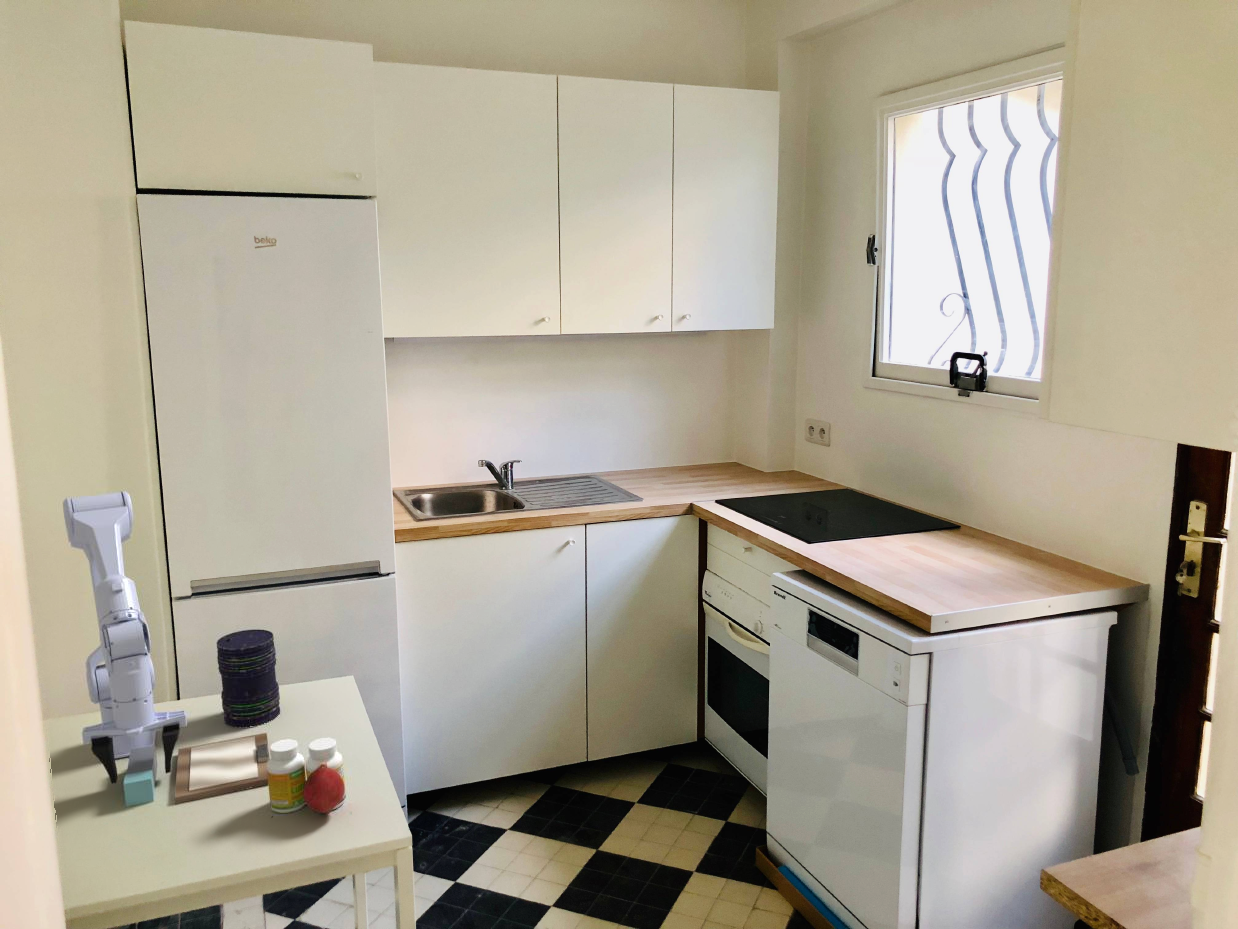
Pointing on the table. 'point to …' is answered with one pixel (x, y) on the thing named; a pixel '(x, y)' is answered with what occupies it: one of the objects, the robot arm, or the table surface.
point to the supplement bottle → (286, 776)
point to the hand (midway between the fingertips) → (141, 775)
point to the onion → (323, 789)
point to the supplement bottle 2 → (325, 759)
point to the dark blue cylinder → (248, 678)
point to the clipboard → (221, 767)
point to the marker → (140, 776)
